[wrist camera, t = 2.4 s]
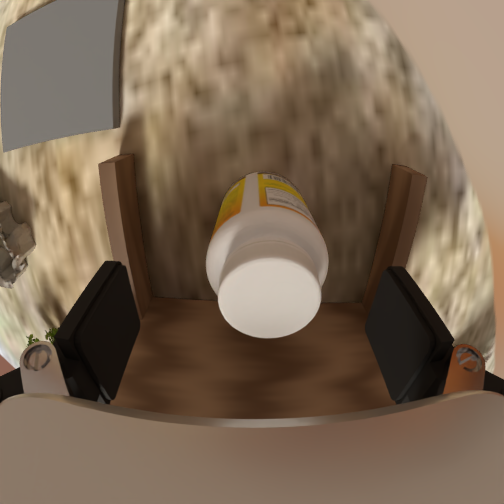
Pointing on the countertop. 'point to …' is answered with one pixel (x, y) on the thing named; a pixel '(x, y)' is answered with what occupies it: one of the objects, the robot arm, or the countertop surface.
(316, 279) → the supplement bottle
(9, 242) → the egg carton
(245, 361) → the walnut rack
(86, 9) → the slate mat
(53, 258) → the countertop surface
